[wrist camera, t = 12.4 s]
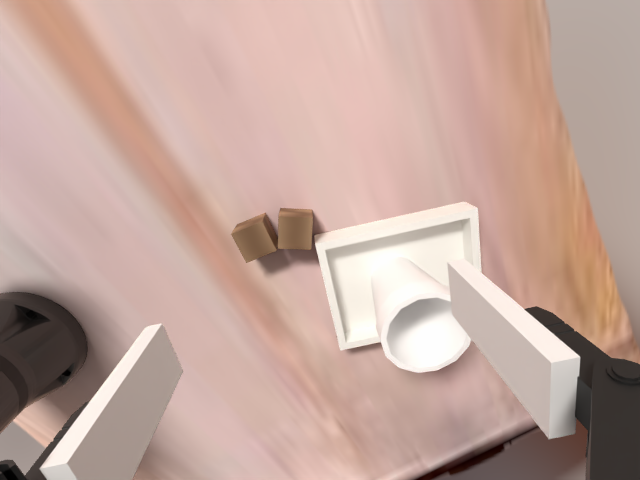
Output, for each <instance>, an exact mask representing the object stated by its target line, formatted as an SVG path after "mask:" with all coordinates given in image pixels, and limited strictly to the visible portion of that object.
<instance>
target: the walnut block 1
mask: <svg viewBox="0 0 640 480" xmlns="http://www.w3.org/2000/svg"><path fill="white" fill-rule="evenodd" d="M231 235H232V237H233V239H234V240H235V242H236V244H237V246H238V248H239V250H240V252H241V254H242V256H243V257H244V259H245V261H246V263H248V262H250V261H253V260H255V259H258V258H260V257H262V256H265V255H267V254H270V253H272V252H275V251H277V246H278V237H277V235H276V233H275V231H274V229H273V227H272V225H271V223H270V221H269V219H268V217H267V215H266V213H264V214H261V215H259V216H257V217H254V218H252V219H249V220H247V221H245V222H242V223H240V224H237V226H236V227H235V229H234V230H233V232H232V234H231Z"/></svg>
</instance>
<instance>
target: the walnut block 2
mask: <svg viewBox="0 0 640 480" xmlns="http://www.w3.org/2000/svg"><path fill="white" fill-rule="evenodd" d="M312 225H313V214H312V210H308V209H287V208H280V212H279V219H278V249H303V250H311V244H312Z"/></svg>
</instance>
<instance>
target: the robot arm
mask: <svg viewBox="0 0 640 480" xmlns="http://www.w3.org/2000/svg"><path fill="white" fill-rule="evenodd" d="M447 265H448V276H449V287H450V298H451V310H452V315H453V316H454V318H455V319H456V320H457V322H458V323H459V324H460V325H461V327H462V328H463V329H464V331H465V332H466V333H467V334H468V336H469V337H470V338H471V340H472V341H473V342H474V343H475V345H476V346H477V347H478V349H479V350H480V351H481V352H482V354H483V355H484V356H485V358H486V359H487V360H488V361H489V363H490V364H491V365H492V367H493V368H494V369H495V370H496V372H497V373H498V374H499V376H500V377H501V378H502V379H503V381H504V382H505V383H506V385H507V386H508V387H509V388H510V390H511V391H512V392H513V394H514V395H515V396H516V397H517V399H518V400H519V401H520V403H521V404H522V405H523V406H524V408H525V409H526V410H527V412H528V413H529V414H530V415H531V417H532V418H533V419H534V421H535V422H536V423H537V424H538V426H539V427H540V428H541V430H542V431H543V432H544V433H545V435H546V436H547V437H548V439H551V438H557V437H562V436H567V435H572V434H575V430H576V418H577V419H578V420H579V421H580V422H581V423H582V425H583V426H584V427H585V428H586V429H587V430H588V435H587V447H586V448H587V449H586V480H640V364H638V363H635V362H631V361H628V360H625V359H616V358H611V357H609V356H608V355H607V354H605V353H604V352H603V351H601V350H600V349H599V348H598V347H596V346H595V345H594V344H592V343H591V342H590V341H588V340H587V339H586V338H585V337H583V336H582V335H581V334H579V333H578V332H577V331H574V329H573V328H571V327H570V326H569V325H568V324H565V323H564V321H562V320H561V319H560V318H558V317H557V316H556V315H554V314H553V313H551V312H549V311H547V310H544V309H542V308H539V307H537V306H536V307H532V308H527V309H523V308H522V307H521V306H520V305H518V304H517V303H516V302H515V301H514V300H513V299H511V298H510V297H509V296H508V295H507V294H505V293H504V292H503V291H502V290H501V289H500V288H498V287H497V286H496V285H495V284H494V283H493V282H491V281H490V280H489V279H488V278H487V277H485V276H484V275H483V274H482V273H481V272H480V271H478V270H477V269H476V268H475V267H474V266H472V265H471V264H470V263H469V262H468V261H467V260H465V259H460V260H455V261H450V262H447ZM86 355H87V342H86V338H85V335H84V332H83V330H82V328H81V327H80V325H79V324H78V322H77V321H76V320H75V319H74V317H73V316H72V315H71V314H70V313H68V312H67V311H66V310H65V309H64V308H62V307H61V306H59V305H58V304H56V303H54V302H52V301H50V300H48V299H46V298H43V297H41V296H37V295H34V294H29V293H22V292H9V293H2V294H0V433H1V432H2V431H3V430H4V429H5V428H6V427H7V426H8V425H9V424H10V423H11V422H12V421H13V420H14V419H15V417H16V416H17V415H18V414H19V413H20V412H21V411H22V410H23V409H24V408H26V407H28V406H29V405H31V404H33V403H34V402H36V401H38V400H40V399H41V398H43V397H45V396H46V395H48V394H50V393H51V392H53V391H55V390H57V389H58V388H60V387H62V386H63V385H64V384H66V383H67V382H68V381H69V380H70V379H71V378H72V377H73V376H74V375H75V374H76V372H77V371H78V370H79V369H80V368H81V367H82V365H83V363H84V361H85V359H86ZM182 373H183V369H182V367H181V365H180V363H179V360H178V358H177V356H176V353H175V351H174V349H173V347H172V344H171V342H170V340H169V337H168V335H167V333H166V331H165V328H164V326H163V324H162V323H161V324H157V325H152V326H147V327H146V328H145V329H144V330H143V332H142V333H141V334H140V336H139V337H138V338H137V340H136V341H135V342H134V343H133V345H132V346H131V347H130V349H129V350H128V351H127V353H126V354H125V355H124V357H123V358H122V359H121V361H120V362H119V363H118V365H117V366H116V367H115V369H114V370H113V371H112V373H111V374H110V375H109V377H108V378H107V379H106V381H105V382H104V383H103V385H102V386H101V387H100V389H99V390H98V391H97V393H96V394H95V395H94V397H93V398H92V399H91V401H90V402H86V403H85V404H84V405H83V406H82V407H81V408H79V409H78V410H77V411H76V412H75V413H74V414H73V415H72V416H71V417H70V418H69V420H68V421H67V422H66V423H65V425H64V426H63V427H62V430H61V431H59V432H58V434H57V435H56V436H55V438H54V441H53V442H51V443H50V444H49V445H48V447H47V448H46V449H45V451H44V452H43V453H42V454H41V456H40V457H39V459H38V460H37V461H36V462H35V463H34V465H33V466H32V467H31V469H30V470H29V471H28V472H27V474H26V475H25V476H24V474H23V473H22V472H21V470H20V469H19V468H18V466H17V465H16V463H15V462H14V461H13V460H4V461H1V462H0V480H132V479H133V477H134V475H135V473H136V471H137V468H138V466H139V464H140V462H141V460H142V458H143V456H144V454H145V451H146V449H147V447H148V445H149V443H150V441H151V439H152V437H153V434H154V432H155V430H156V428H157V426H158V424H159V422H160V420H161V417H162V415H163V413H164V411H165V409H166V407H167V405H168V403H169V400H170V398H171V396H172V394H173V392H174V390H175V388H176V385H177V383H178V381H179V379H180V377H181V375H182Z"/></svg>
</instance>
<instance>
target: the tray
mask: <svg viewBox="0 0 640 480" xmlns="http://www.w3.org/2000/svg"><path fill="white" fill-rule="evenodd" d="M314 238H315V246H316V250H317V254H318V258H319V263H320V267H321V271H322V275H323V279H324V284H325V288H326V292H327V296H328V301H329V305H330V309H331V313H332V317H333V322H334V326H335V330H336V334H337V338H338V343H339V347H340V351H341V350H345V349H350V348H355V347H359V346H364V345H369V344H373V343H378V342H381V341H380V338H379V336H378V333H377V330H376V327H375V326H376V314H375V307H374V300H373V293H372V286H371V276H372V270H373V269H374V268H375V266H376V265H377V264H378V262H380V261H381V260H383V259H385V258H387V257H390V256H402V257H405V258H408V259H409V260H411V261H412V262H413V263H415V264H416V265H417V266H419V267H420V268H421V269H423V270H424V271H425V272H427V273H428V274H429V275H430V276H432V277H433V278H434V279H436V280H437V281H438V282H440V283H441V284H442V285H445V286H448V287H449V276H448V265H447V262H450V261H455V260H460V259H465V260H467V261H468V262H469V263H470V264H471V265H472V266H474V267H475V268H476V269H477V270H478V271H480V272H481V256H480V239H479V222H478V208H476V207H474V206H472V205H470V204H468V203H466V202H460V203H456V204H451V205H447V206H442V207H438V208H433V209H429V210H424V211H420V212H415V213H411V214H406V215H402V216H397V217H393V218H388V219H384V220H379V221H375V222H370V223H366V224H361V225H357V226H352V227H348V228H343V229H339V230H334V231H330V232H325V233H321V234H316V235H314ZM449 288H450V287H449Z"/></svg>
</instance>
